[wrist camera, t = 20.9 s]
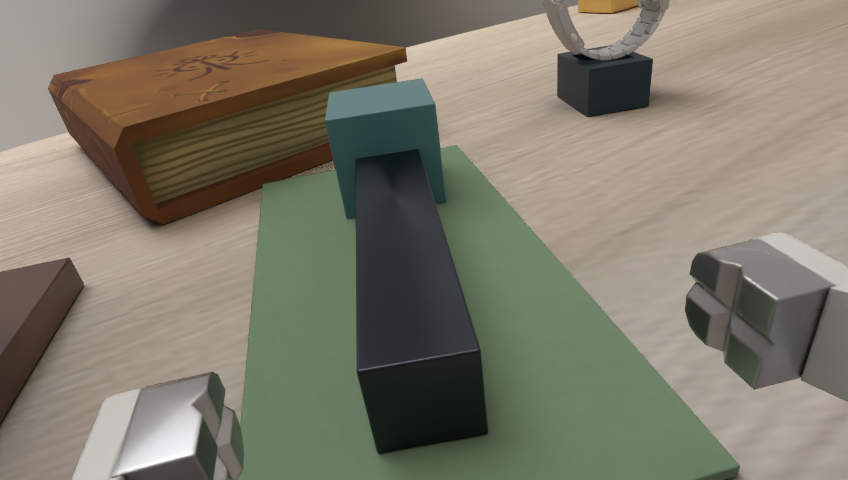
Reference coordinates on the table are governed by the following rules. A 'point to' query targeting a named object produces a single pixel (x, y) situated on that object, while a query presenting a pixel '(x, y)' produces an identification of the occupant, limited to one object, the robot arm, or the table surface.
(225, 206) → the table surface
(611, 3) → the rubber stamp
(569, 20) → the watch
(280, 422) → the mat
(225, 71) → the diary
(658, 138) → the table surface
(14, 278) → the stand
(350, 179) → the teal headed hammer
